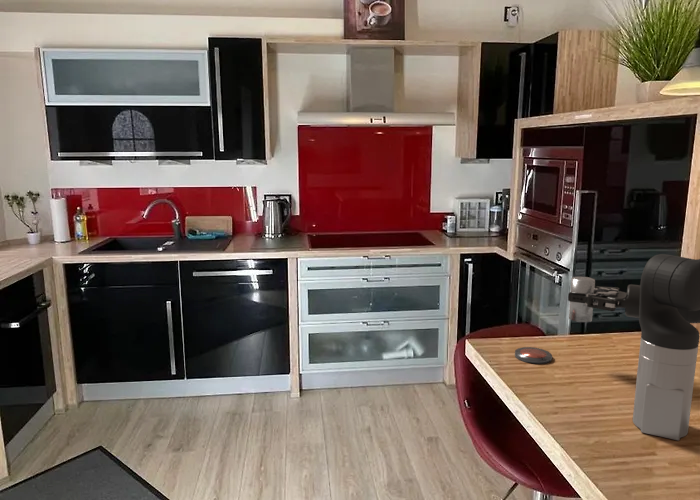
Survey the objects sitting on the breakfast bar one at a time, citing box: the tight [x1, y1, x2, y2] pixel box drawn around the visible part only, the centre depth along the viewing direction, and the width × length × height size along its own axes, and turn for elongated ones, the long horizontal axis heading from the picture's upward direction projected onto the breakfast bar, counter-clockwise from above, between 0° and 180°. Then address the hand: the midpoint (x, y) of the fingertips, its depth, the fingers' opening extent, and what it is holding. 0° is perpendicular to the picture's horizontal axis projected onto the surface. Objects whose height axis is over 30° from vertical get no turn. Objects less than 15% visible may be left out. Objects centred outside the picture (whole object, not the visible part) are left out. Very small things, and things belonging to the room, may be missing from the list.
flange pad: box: [514, 346, 553, 365], centre depth 135 cm, size 9×9×1 cm
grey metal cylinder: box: [568, 276, 596, 323], centre depth 128 cm, size 5×5×10 cm
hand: (570, 293), depth 129 cm, fingers closed on grey metal cylinder, 5 cm apart
